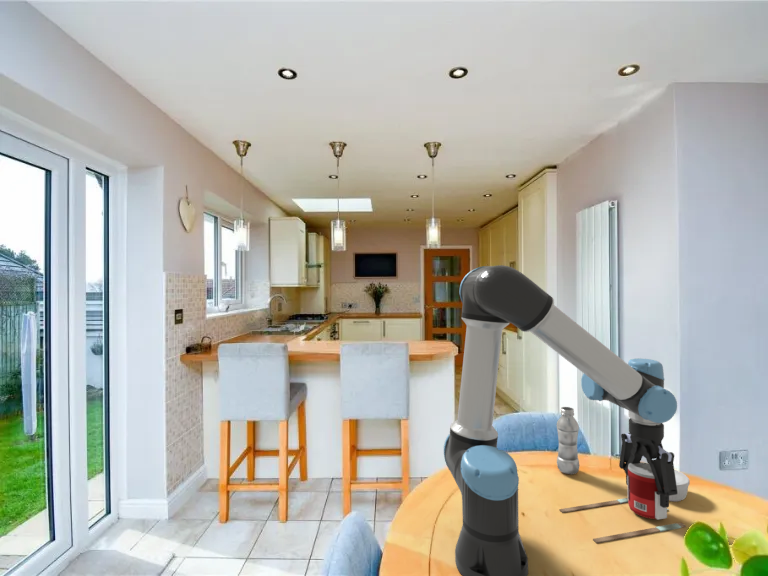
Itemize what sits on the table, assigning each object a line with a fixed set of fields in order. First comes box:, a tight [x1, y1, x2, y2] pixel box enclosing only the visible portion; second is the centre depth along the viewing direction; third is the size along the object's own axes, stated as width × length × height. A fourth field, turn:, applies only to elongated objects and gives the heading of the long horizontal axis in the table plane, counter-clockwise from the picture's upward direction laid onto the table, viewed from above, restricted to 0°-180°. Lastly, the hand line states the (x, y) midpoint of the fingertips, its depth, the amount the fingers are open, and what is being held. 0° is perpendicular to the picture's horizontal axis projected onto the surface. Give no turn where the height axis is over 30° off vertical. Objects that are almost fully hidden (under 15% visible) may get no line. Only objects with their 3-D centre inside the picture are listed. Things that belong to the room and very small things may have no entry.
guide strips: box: [559, 497, 687, 544], centre depth 101 cm, size 27×14×1 cm, turn 102°
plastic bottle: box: [556, 406, 580, 475], centre depth 124 cm, size 6×7×20 cm
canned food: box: [627, 461, 664, 520], centre depth 102 cm, size 8×8×11 cm
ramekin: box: [669, 469, 691, 502], centre depth 111 cm, size 11×11×5 cm
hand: (646, 508), depth 102 cm, fingers closed on canned food, 8 cm apart
